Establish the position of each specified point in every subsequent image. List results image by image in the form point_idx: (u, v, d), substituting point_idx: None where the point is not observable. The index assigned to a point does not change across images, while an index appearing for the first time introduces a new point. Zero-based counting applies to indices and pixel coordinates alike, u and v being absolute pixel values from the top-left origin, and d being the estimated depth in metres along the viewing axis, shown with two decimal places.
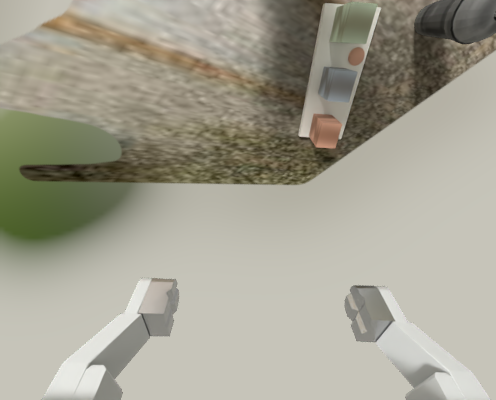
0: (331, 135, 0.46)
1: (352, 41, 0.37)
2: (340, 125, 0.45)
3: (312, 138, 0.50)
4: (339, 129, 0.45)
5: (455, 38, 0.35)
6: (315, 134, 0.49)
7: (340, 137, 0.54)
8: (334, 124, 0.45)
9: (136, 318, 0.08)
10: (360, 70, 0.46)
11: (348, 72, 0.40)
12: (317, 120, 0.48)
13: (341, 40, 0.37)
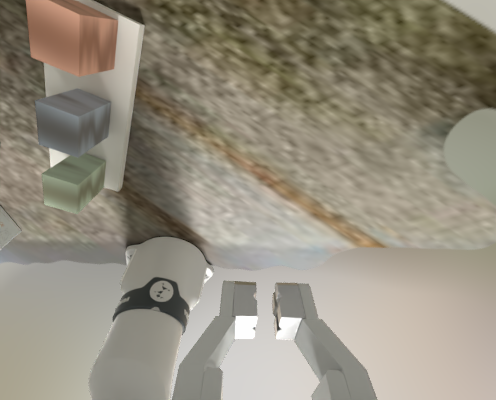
0: (48, 36, 0.20)
1: (62, 181, 0.28)
2: (34, 55, 0.21)
3: (102, 24, 0.22)
4: (33, 45, 0.20)
5: None
6: (95, 37, 0.22)
7: None
8: (49, 62, 0.21)
9: (233, 321, 0.09)
10: None
11: (54, 148, 0.26)
12: (97, 68, 0.24)
13: (79, 184, 0.29)
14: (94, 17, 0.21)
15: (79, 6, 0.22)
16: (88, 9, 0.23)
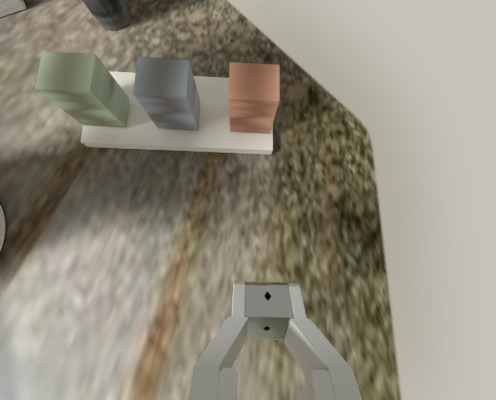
0: (252, 76, 0.23)
1: (90, 75, 0.22)
2: (232, 64, 0.23)
3: (268, 120, 0.26)
4: (240, 64, 0.23)
5: None
6: (259, 114, 0.25)
7: None
8: (230, 76, 0.23)
9: (245, 321, 0.09)
10: None
11: (137, 71, 0.22)
12: (233, 116, 0.25)
13: (90, 94, 0.22)
14: (275, 113, 0.25)
15: None
16: None
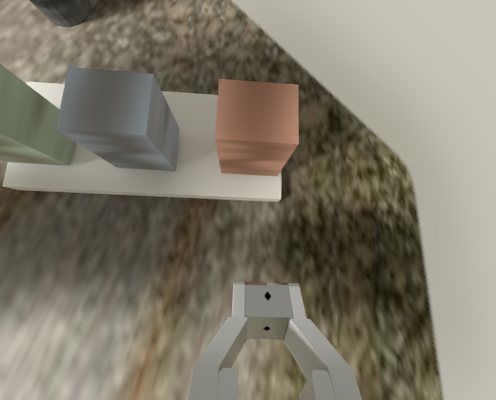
0: (255, 103, 0.14)
1: None
2: (223, 83, 0.14)
3: (278, 164, 0.18)
4: (235, 83, 0.14)
5: None
6: (264, 158, 0.16)
7: None
8: (220, 101, 0.14)
9: (245, 321, 0.09)
10: None
11: (67, 91, 0.13)
12: (224, 158, 0.17)
13: None
14: (288, 157, 0.16)
15: None
16: None
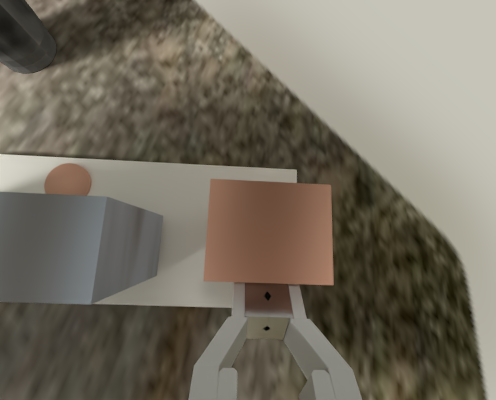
0: (266, 218, 0.09)
1: None
2: (216, 185, 0.09)
3: None
4: (235, 186, 0.09)
5: None
6: None
7: (291, 173, 0.17)
8: (212, 215, 0.09)
9: (245, 321, 0.09)
10: (106, 163, 0.17)
11: None
12: None
13: None
14: None
15: None
16: None
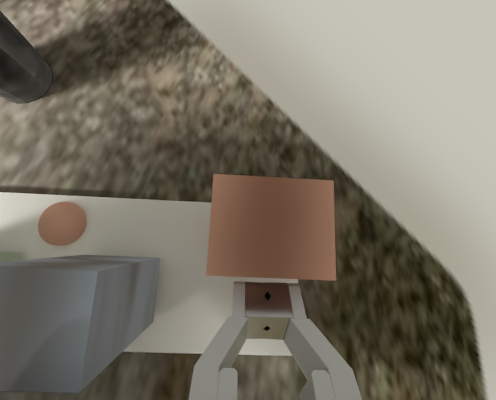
0: (269, 213, 0.09)
1: None
2: (219, 181, 0.09)
3: None
4: (238, 181, 0.09)
5: None
6: None
7: None
8: (215, 210, 0.09)
9: (245, 321, 0.09)
10: (101, 201, 0.16)
11: None
12: None
13: None
14: None
15: None
16: None
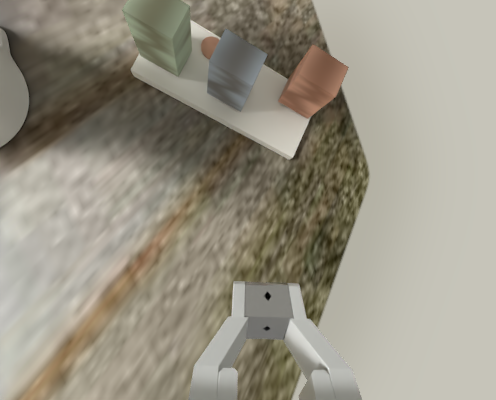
0: (324, 66, 0.26)
1: (177, 23, 0.23)
2: (313, 47, 0.26)
3: (315, 108, 0.30)
4: (319, 50, 0.26)
5: None
6: (312, 99, 0.29)
7: None
8: (308, 56, 0.26)
9: (245, 321, 0.09)
10: None
11: (220, 42, 0.24)
12: (290, 90, 0.29)
13: (170, 40, 0.23)
14: (324, 104, 0.29)
15: None
16: None
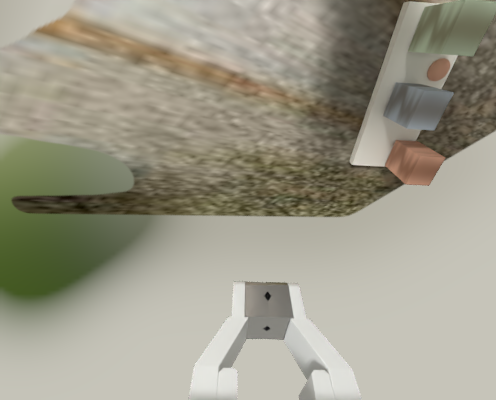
0: (428, 170, 0.37)
1: (455, 53, 0.28)
2: (442, 159, 0.35)
3: (394, 170, 0.41)
4: (440, 163, 0.36)
5: None
6: (401, 167, 0.39)
7: None
8: (435, 158, 0.35)
9: (245, 321, 0.09)
10: (440, 86, 0.36)
11: (441, 93, 0.30)
12: (406, 150, 0.38)
13: (439, 51, 0.28)
14: (398, 177, 0.40)
15: None
16: None
